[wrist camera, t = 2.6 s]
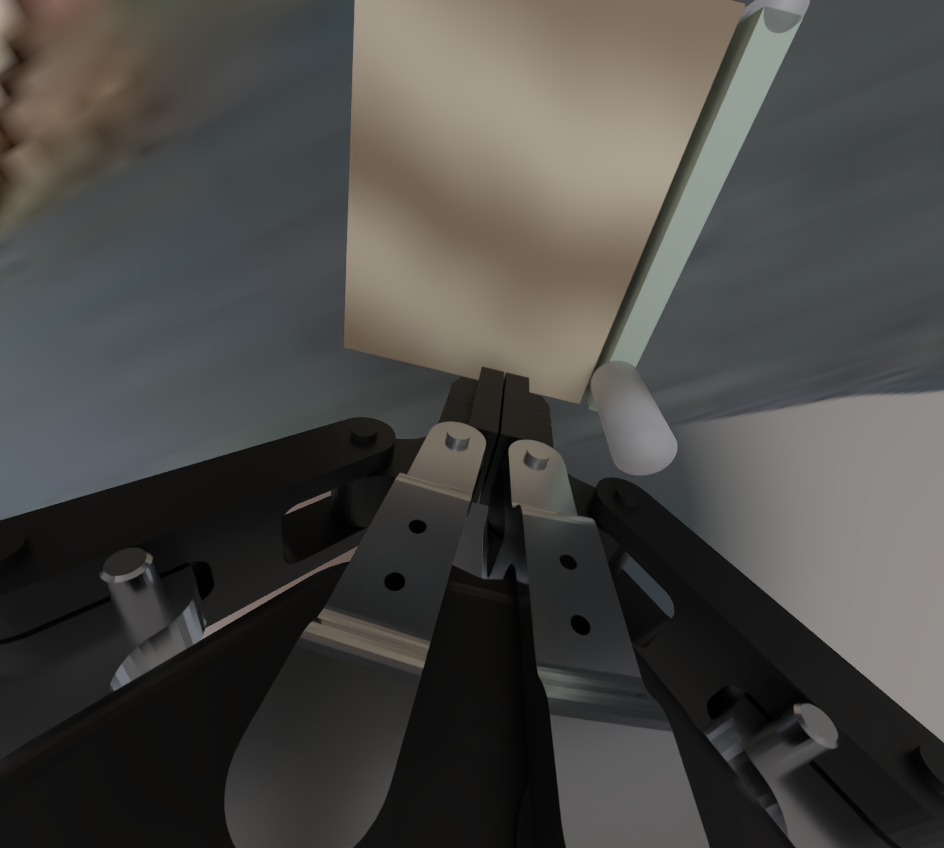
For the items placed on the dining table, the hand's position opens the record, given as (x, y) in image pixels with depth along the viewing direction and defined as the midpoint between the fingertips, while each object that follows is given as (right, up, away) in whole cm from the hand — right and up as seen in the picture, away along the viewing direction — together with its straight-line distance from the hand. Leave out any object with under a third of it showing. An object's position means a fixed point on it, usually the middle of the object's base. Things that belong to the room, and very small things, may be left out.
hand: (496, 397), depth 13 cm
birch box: (+1, +12, +10) cm, 15 cm away
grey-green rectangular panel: (+7, +11, +10) cm, 16 cm away
